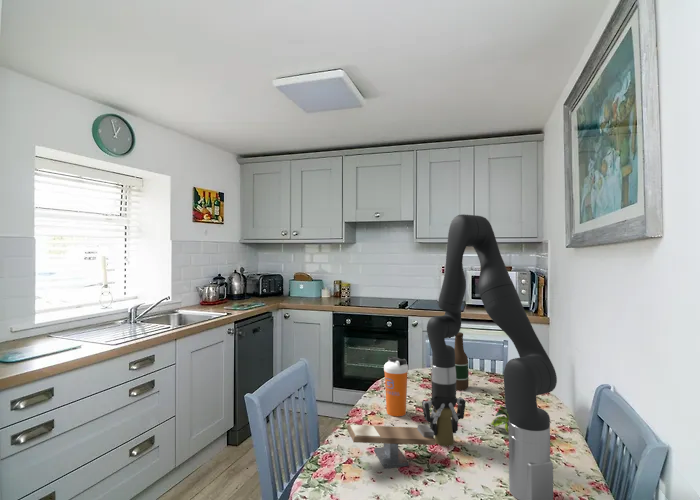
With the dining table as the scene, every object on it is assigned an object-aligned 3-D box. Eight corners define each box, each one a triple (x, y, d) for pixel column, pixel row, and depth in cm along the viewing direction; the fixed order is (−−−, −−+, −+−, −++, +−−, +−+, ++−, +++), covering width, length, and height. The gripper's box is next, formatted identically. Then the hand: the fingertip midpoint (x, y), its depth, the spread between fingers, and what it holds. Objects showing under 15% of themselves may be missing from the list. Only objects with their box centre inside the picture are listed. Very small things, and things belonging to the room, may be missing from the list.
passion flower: (517, 444, 135) (540, 417, 134) (513, 452, 126) (537, 423, 124) (489, 418, 141) (510, 392, 139) (483, 424, 132) (506, 396, 130)
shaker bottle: (392, 406, 155) (392, 354, 155) (413, 412, 149) (412, 358, 150) (379, 413, 148) (379, 359, 148) (400, 419, 143) (399, 363, 143)
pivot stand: (408, 465, 112) (408, 445, 112) (384, 468, 110) (384, 448, 110) (396, 448, 122) (396, 430, 122) (374, 451, 120) (374, 432, 120)
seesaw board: (423, 432, 122) (425, 423, 123) (435, 445, 115) (436, 434, 115) (347, 429, 117) (348, 419, 117) (353, 442, 109) (355, 431, 110)
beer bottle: (449, 389, 174) (449, 333, 174) (450, 384, 181) (450, 330, 181) (468, 391, 171) (468, 334, 172) (468, 385, 179) (468, 331, 179)
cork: (454, 447, 122) (454, 410, 123) (434, 445, 124) (434, 409, 124) (453, 438, 128) (453, 403, 128) (434, 436, 130) (434, 402, 130)
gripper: (427, 385, 121) (427, 441, 121) (470, 381, 124) (471, 436, 124) (417, 377, 128) (417, 430, 128) (459, 374, 131) (459, 426, 131)
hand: (444, 433), depth 126 cm, fingers open, 6 cm apart
